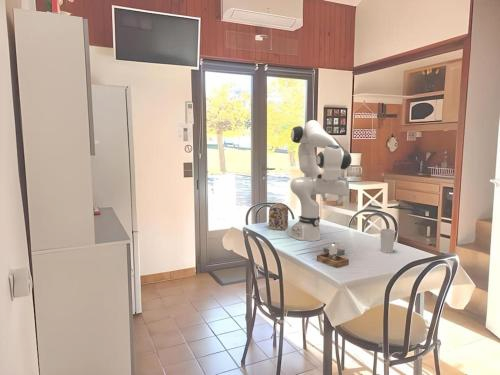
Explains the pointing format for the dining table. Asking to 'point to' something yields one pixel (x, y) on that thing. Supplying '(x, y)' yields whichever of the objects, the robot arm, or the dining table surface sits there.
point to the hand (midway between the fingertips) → (331, 202)
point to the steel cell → (333, 251)
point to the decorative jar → (278, 217)
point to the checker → (339, 251)
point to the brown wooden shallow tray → (325, 259)
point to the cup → (387, 240)
